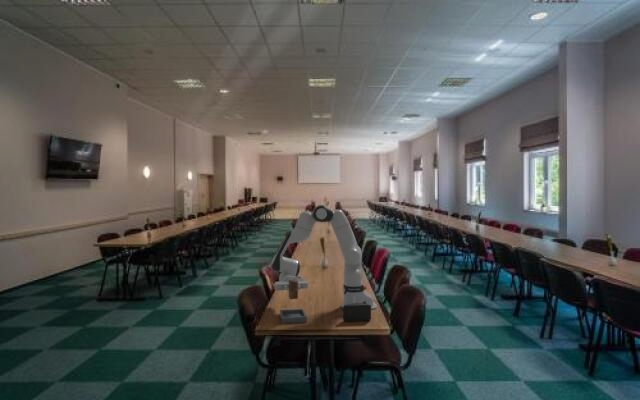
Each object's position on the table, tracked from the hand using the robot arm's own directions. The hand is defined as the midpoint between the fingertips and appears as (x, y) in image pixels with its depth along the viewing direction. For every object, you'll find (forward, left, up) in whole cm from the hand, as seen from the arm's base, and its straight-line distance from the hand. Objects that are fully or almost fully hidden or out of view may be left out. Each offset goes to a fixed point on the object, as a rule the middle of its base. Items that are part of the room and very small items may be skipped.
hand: (293, 288), depth 211 cm
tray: (0, +1, -17) cm, 17 cm away
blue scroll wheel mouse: (-35, +12, -17) cm, 41 cm away
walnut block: (0, -1, -5) cm, 6 cm away
